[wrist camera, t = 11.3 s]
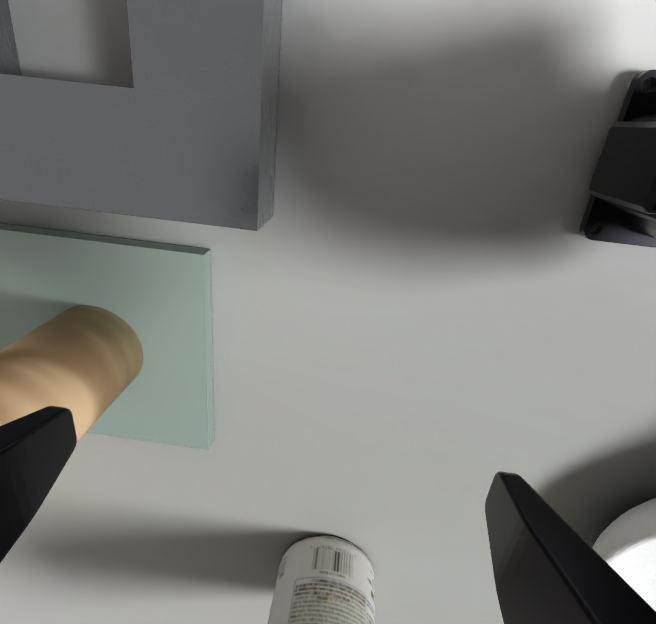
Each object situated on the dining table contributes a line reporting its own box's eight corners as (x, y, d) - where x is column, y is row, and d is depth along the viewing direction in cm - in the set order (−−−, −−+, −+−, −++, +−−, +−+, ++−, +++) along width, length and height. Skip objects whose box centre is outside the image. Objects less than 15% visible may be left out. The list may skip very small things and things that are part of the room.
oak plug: (139, 311, 21) (-11, 433, 13) (146, 392, 24) (22, 543, 15) (44, 299, 22) (-164, 412, 13) (60, 381, 24) (-110, 523, 15)
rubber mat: (210, 249, 21) (203, 254, 20) (214, 438, 26) (208, 449, 25) (-23, 220, 21) (-40, 224, 20) (25, 411, 26) (13, 421, 25)
